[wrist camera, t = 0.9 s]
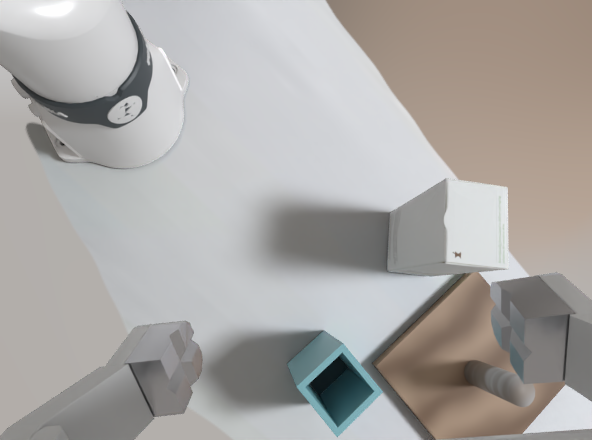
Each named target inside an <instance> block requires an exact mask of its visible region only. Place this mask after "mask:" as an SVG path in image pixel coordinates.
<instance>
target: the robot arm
mask: <svg viewBox="0 0 592 440" xmlns="http://www.w3.org/2000/svg"><path fill="white" fill-rule="evenodd" d="M0 65H1V66H3V67H4V68H5V69H6V70H8V71H9V72H10V73H11V74H12V75H13V77H14V79H12V80H11V82H12V84H13V86H14V87H15V89H16V90H17V92H18V93H19V94H20V95H21V96H22V97H23V98H25V99H26V98H30V99H31V102H32V103H31V104H30V105H29V108H30V110H31V112H32V113H33V114H34V115H35V116H37V117H38V116H39V118H40V120H41V122H42V124H43V126H44V128H45V130H46V132H47V134H48V136H49V138H50V140H51V142H52V144H53V146H54V148H55V150H56V152H57V154H58V156H59V157H60V158H61V159H62V160H64V161H66V162H71V163H77V162H94V163H98V164H101V165H104V166H107V167H112V168H123V169H124V168H135V167H140V166H143V165H146V164H149V163H151V162H153V161H155V160H157V159H158V158H160V157H161V156H163V155H164V154H165V153H166V152H167V151H168V150H169V149H170V148H171V147H172V146H173V145H174V143H175V142H176V140H177V139H178V137H179V135H180V132H181V129H182V126H183V121H184V106H183V98H184V95H185V92H186V90H187V87H188V83H189V78H188V75H187V74H186V72H185V71H184V70H183V69H182V68H181V67H180V66H178V65H177V64H176V63H175V62H173V61H172V60H171V59H170V58H168V57H167V56H166V55H165V53H164V51H163V50H162V48H160V47H156V46H155V45H154V44H153V43H151V42H150V41H149V40H147V39H146V38H145V37H144V35H143V33H142V31H141V29H140V28H139V26H138V25H137V24H136V22H135V20H134V19H133V17H132V16H131V15H130V14H129V13H128V12H127V11H126V10H125V8H124V6H123V3H122V1H121V0H0ZM63 143H64V144H65V146H62V144H63ZM490 297H491V298H492V300H493V301H494V303H495V304H496V305H495V306H494V307H493V309H492V310H491V324H492V328H493V332H494V335H495V337H496V340H497V342H498V344H499V345H500V347H501V349H503V350H505V351H506V352H508V353H510V363H511V365H512V367H513V368H514V370H515V371H516V373H517V375H518V376H519V378H520V379H521V381H522V383H523V384H534V383H551V382H565V384H566V385H568V386H569V387H571V388H572V389H574V390H575V391H577V392H578V393H580V394H581V395H583V396H584V397H586V398H587V399H589V400H590V401H592V300H591V299H590V298H589V297H587V296H586V295H585V294H584V293H583V292H582V291H581V290H579V289H578V288H577V287H576V286H575V285H574V284H572V283H571V282H570V281H569V280H568V279H567V278H566V277H565V276H563V275H562V274H560V273H557V272H555V273H549V274H543V275H537V276H533V277H526V278H519V279H511V280H504V281H497V282H492V283H491V287H490ZM193 334H194V331H193V329H192V327H191V324H190V323H189V322H187V321H178V322H169V323H159V324H150V325H142V326H138V327H135V328H133V330H132V331H131V332H130V334H129V335H128V336H127V338H126V339H125V340H124V342H123V343H122V344H121V346H120V347H119V348H118V350H117V351H116V352H115V354H114V355H113V356H112V358H111V359H110V360H109V362H108V363H107V364H106V366H104V367H99V368H98V369H96V370H95V371H93V372H92V373H90V374H89V375H87V376H85V377H84V378H82V379H81V380H80V381H78V382H77V383H75V384H73V385H72V386H70V387H69V388H67V389H66V390H64V391H63V392H61V393H60V394H58V395H57V396H55V397H54V398H52V399H51V400H49V401H48V402H46V403H45V404H43V405H42V406H40V407H39V408H37V409H36V410H34V411H33V412H31V413H29V414H28V415H27V416H25V417H23V418H22V419H20V420H19V421H18V422H16V423H14V424H13V425H11V426H10V427H8V428H7V429H6V430H5V431H4V432H3V434H2V435H1V436H0V440H134V439H135V438H136V437H137V436H138V435H139V434H140V433H141V432H142V431H143V430H144V429H145V428H146V427H147V426H148V424H149V423H150V422H151V421H152V420H153V419H154V417H159V416H167V415H176V414H183V413H184V412H185V410H186V408H187V405H188V403H189V400H190V398H191V396H192V393H193V392H192V390H191V387H190V386H191V385H193V384H194V383H195V382H196V381H197V380H198V379H199V376H200V374H201V371H202V361H203V360H202V353H201V350H200V347H199V345H198V344H197V343H195V342H194V341H193V340H192V336H193ZM436 440H592V429H583V430H570V431H556V432H542V433H528V434H512V435H497V436H482V437H467V438H452V439H436Z"/></svg>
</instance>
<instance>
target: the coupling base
mask: <svg viewBox="0 0 592 440" xmlns="http://www.w3.org/2000/svg"><path fill="white" fill-rule="evenodd" d="M495 305H496V304H495V303H494V301H493V300H492V298H491V297H490V285H489V284H488V283H487V282H486V281H485V280H484V278H483V277H482V276H481V275H480V274H479V273H478V272H473V273H465V274H464V275H463V276H462V277H461V278H460V279H459V280H458V281H457V282H456V283H455V284H454V285H453V286H452V287H451V288H450V289H449V290H448V291H447V292H446V293H445V294H444V295H443V296H442V297H440V298H439V299H438V300H437V301H436V302H435V303H434V304H433V305H432V306H431V307H430V308H429V309H428V310H427V311H426V312H425V313H424V314H423V315H422V316H421V317H420V318H419V319H418V320H417V321H416V322H415V323H414V324H412V325H411V326H410V327H409V328H408V329H407V330H406V331H405V332H404V333H403V334H402V335H401V336H400V337H399V338H398V339H397V340H396V341H395V342H394V343H393V344H392V345H391V346H390V347H389V348H388V349H387V350H386V351H384V352H383V353H382V354H381V355H380V356H379V357H378V358H377V359H376V360H375V361H374V362H373V363H372V364H373V365H374V366H375V368H376V369H377V370H378V371H379V372H380V374H381V375H382V376H383V377H384V378H385V380H386V381H387V382H388V383H389V385H390V386H391V387H392V388H393V389H394V391H395V392H396V393H397V394H398V395H399V397H400V398H401V399H402V400H403V401H404V403H405V404H406V405H407V406H408V408H409V409H410V410H411V411H412V412H413V414H414V415H415V416H416V417H417V418H418V420H419V421H420V422H421V423H422V424H423V426H424V427H425V428H426V429H427V431H428V432H429V433H430V434H431V435H432V437H433V438H434V439H435V440H436V439H452V438H467V437H482V436H497V435H512V434H522V433H523V432H524V431H525V430H526V429H527V428H528V426H529V425H530V424H531V423H532V422H533V421H534V420H535V418H536V417H537V416H538V415H539V414H540V413H541V412H542V410H543V409H544V408H545V407H546V406H547V405H548V404H549V403H550V401H551V400H552V399H553V398H554V397H555V396H556V395H557V393H558V392H559V391H560V390H561V389H562V388H563V387H564V385H565V382H551V383H534V384H523V383H522V381H521V379H520V378H519V376H518V375H517V373H516V371H515V370H514V368H513V367H512V365H511V363H510V353H508V352H506V351H505V350H503V349H501V347H500V345H499V344H498V342H497V340H496V337H495V335H494V332H493V328H492V324H491V310H492V309H493V307H494V306H495Z"/></svg>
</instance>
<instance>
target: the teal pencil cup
mask: <svg viewBox="0 0 592 440" xmlns="http://www.w3.org/2000/svg"><path fill="white" fill-rule="evenodd" d="M338 356H339V357H340V358H341V359H342V361H343V362H344V363H345V364H346V366H347V367H348V369H347V370H346V371H345V372H344V373H343V374H341V375H340V376H339V377H338V378H337V379H336V380H335V381H334V382H333V383H332V384H331V385H330V386H329V387H328V388H327V389H326V390H325V391H324V392H323V393H321V394H320V395H318V393H317V392H316V391H315V390H314V389H313V387H312V386H311V385H310V384H309V383H310V382H311V381H313V380H314V379H315V378H316V377H317V376H318V375H319V374H320V373H321V372H322V371H323V370H324V369H325V368H326V367H327V366H329V365H330V364H331V363H332V362H333V361H334V360H335V359H336V358H337V357H338ZM287 365H288V368H289V370H290V373H291V375H292V377H293V380H294V382H295V385H296V387H297V388H298V389H299V391H300V392H301V393H302V394H303V396H304V397H305V398H306V399H307V400H308V402H309V403H310V404H311V405H312V407H313V408H314V409H315V410H316V412H317V413H318V414H319V415H320V417H321V418H322V419H323V420H324V421H325V423H326V424H327V425H328V426H329V428H330V429H331V430H332V431H333V433H334V434H335V435H336V436H337V437H338V436H339V435H340V434H341V433H342V432H343V431H344V430H345V429H346V428H347V427H348V426H349V425H350V424H351V423H352V422H353V421H354V420H355V419H356V418H357V417H358V416H359V415H360V414H361V413H362V412H363V411H364V410H365V409H366V408H367V407H368V406H369V405H370V404H371V403H372V402H373V401H374V400H375V399H376V398H377V397H378V396H379V395H380V394H381V393H382V392H383V391H382V390H381V389H380V388H379V386H378V385H377V384H376V383H375V382H374V380H373V379H372V378H371V377H370V376H369V374H368V373H367V372H366V371H365V369H364V368H363V367H362V366H361V365H360V363H359V362H358V361H357V360H356V359H355V357H354V356H353V355H352V354H351V352H350V351H349V350H348V349H347V348H346V346H345V345H344V344H343V343H342V342H340V341H339V340H337V339H336V338H334V337H333V336H331V335H330V334H329V333H327V332H326V331H322V332H321V333H320V334H319V335H318V336H317V337H316V338H315V339H314V340H313V341H311V342H310V343H309V344H308V345H307V346H306V347H305V348H304V349H303V350H302V351H300V352H299V353H298V354H297V355H296V356H295V357H294V358H293V359H292V360H291V361H289V362H288V363H287Z"/></svg>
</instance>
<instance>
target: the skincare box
mask: <svg viewBox="0 0 592 440" xmlns="http://www.w3.org/2000/svg"><path fill="white" fill-rule="evenodd" d="M505 269H509V260H508V189H507V187H502V186H496V185H490V184H483V183H475V182H469V181H462V180H455V179H448V178H446V179H444V180H443V181H441V182H440V183H438V184H436V185H435V186H433V187H431V188H430V189H428V190H427V191H425V192H423V193H422V194H420V195H418V196H417V197H415V198H413V199H412V200H410V201H408V202H407V203H405V204H404V205H402V206H400V207H399V208H397V209H395V210H394V211H392V212H390V221H389V239H388V259H387V271H389V272H396V273H404V274H413V275H423V276H440V275H451V274H462V273H473V272H484V271H493V270H505Z"/></svg>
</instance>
